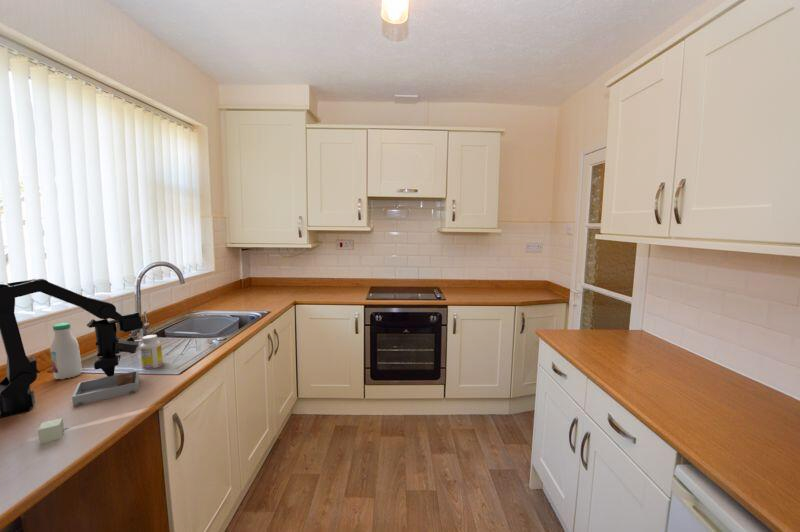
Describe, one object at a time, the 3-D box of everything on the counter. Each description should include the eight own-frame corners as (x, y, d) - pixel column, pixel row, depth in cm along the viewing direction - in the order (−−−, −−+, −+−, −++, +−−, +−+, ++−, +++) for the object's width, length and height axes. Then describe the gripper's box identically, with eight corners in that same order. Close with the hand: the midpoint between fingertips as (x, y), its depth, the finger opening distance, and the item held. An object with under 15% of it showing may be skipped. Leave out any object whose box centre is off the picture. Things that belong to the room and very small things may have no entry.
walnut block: (118, 391, 116) (116, 379, 115) (118, 386, 119) (117, 375, 118) (132, 387, 118) (131, 376, 117) (133, 383, 121) (132, 372, 121)
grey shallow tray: (73, 409, 106) (71, 397, 105) (80, 391, 117) (79, 381, 116) (138, 394, 115) (137, 383, 115) (139, 379, 126) (138, 369, 125)
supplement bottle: (160, 362, 141) (157, 332, 140) (165, 367, 137) (162, 335, 135) (140, 368, 136) (136, 336, 134) (145, 372, 132) (142, 340, 130)
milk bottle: (86, 369, 135) (79, 320, 132) (76, 378, 128) (69, 326, 125) (61, 373, 132) (54, 322, 129) (49, 381, 125) (41, 328, 122)
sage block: (39, 444, 90) (37, 430, 89) (43, 436, 93) (41, 422, 92) (61, 438, 92) (59, 424, 91) (64, 431, 95) (62, 417, 95)
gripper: (134, 339, 119) (138, 381, 121) (136, 326, 134) (140, 364, 136) (91, 345, 113) (96, 390, 115) (98, 331, 128) (103, 371, 130)
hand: (111, 378), depth 124 cm, fingers closed
